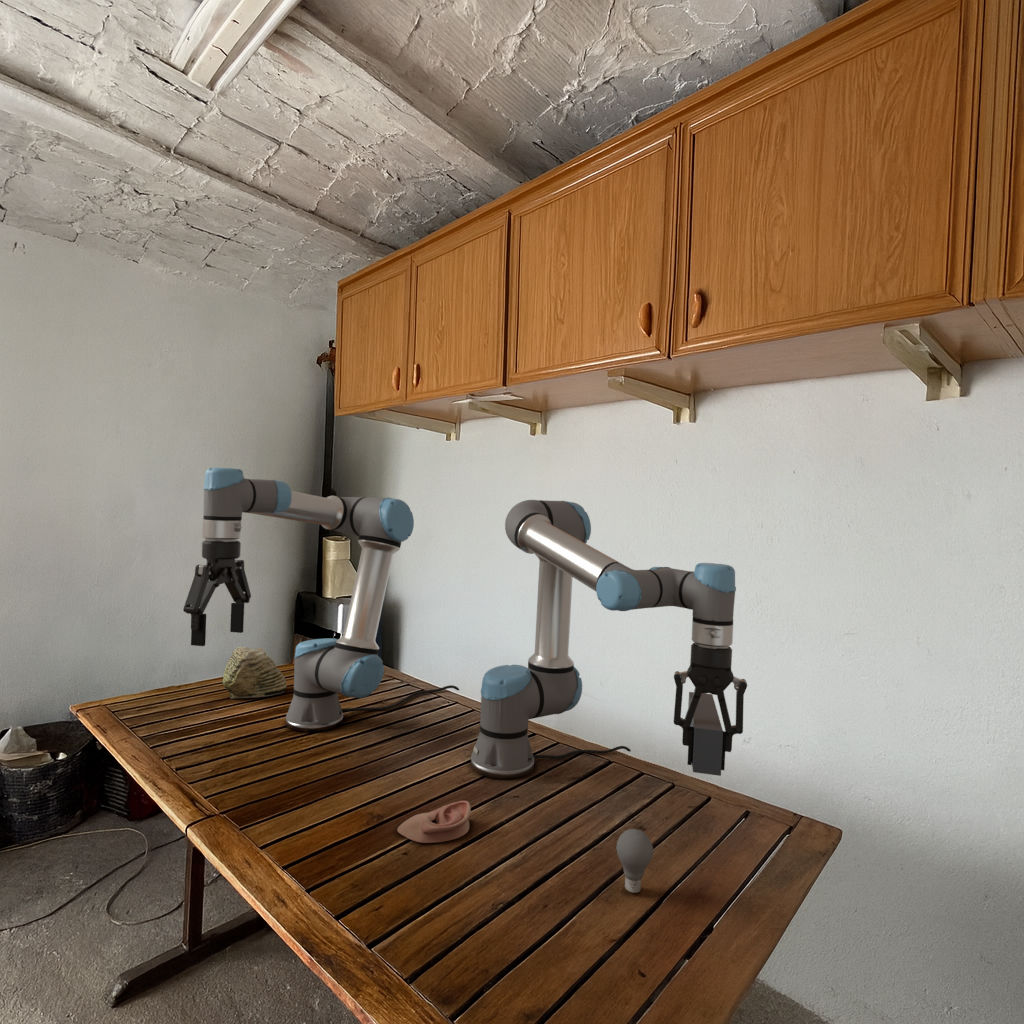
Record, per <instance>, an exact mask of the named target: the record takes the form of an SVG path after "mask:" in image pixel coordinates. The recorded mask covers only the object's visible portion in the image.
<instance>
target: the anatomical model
mask: <svg viewBox="0 0 1024 1024" xmlns="http://www.w3.org/2000/svg"><path fill="white" fill-rule="evenodd" d="M471 813H472V808H471V804H470V802H469V801H468V800H459V801H454V802H451V803H449V804H446V805H442V806H441V807H439V808H436V809H434V810H432V811H429V812H421V813H417V814H415V815H413V816H411V817H409V818H407V819H406V820H405V821H403V822H402V823H401V824H400V825H399V826H398V827H397V829H396V830H397V833H398V834H400V835H401V836H403V837H404V838H406V839H408V840H410V841H414V842H416V843H419V844H434V843H443V842H448V841H452V840H456V839H459V838H461V837H463V836H465V835H466V834H467V833H469V830H470V821H469V819H470V817H471Z"/></svg>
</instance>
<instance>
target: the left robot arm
mask: <svg viewBox="0 0 1024 1024" xmlns="http://www.w3.org/2000/svg"><path fill="white" fill-rule="evenodd" d="M203 483H204V484H203V489H202V490H203V511H202V512H203V514H202V515H203V517H202V518H203V519H202V530H201V531H202V535H201V537H202V538H203V539H204V540H203V541H202V543H201V545H202V546H201V556H202V558H203V559H205V560H206V563H205V564H196V565H195V569H194V576H193V579H192V583H191V585H190V588H189V591H188V594H187V597H186V600H185V602H184V605H183V612H184V613H185V614H189V615H190V631H191V632H190V646H193V647H194V646H196V647H205V646H206V637H207V634H206V633H207V613H204V612H205V610H206V609H207V607H208V604H209V603H210V600H211V598H212V596H213V594H214V593H215V590H216V589H217V588H219V587H220V585H223V584H224V585H225V587H226V589H227V591H228V593H229V594H230V597H231V599H232V600H233V602H231V603H230V625H229V626H230V627H229V628H230V629H229V632H230V633H239V634H243V633H244V624H245V621H244V620H245V604H250V601H251V598H252V593H251V590H250V586H249V582H248V578H247V575H246V569H245V560H243V559H239V558H241V549H242V547H241V546H242V543H241V542H240V539H241V537H242V520H243V519H242V518H243V513H244V514H245V513H246V514H252V515H259V516H265V517H269V518H270V517H271V518H276V519H284V520H289V521H297V522H303V523H308V524H315V525H321V527H322V528H323V529H325V530H329V531H330V530H331V531H334V532H339V533H342V534H346V535H350V536H353V537H356V538H358V539H357V543H358V544H359V545H360V547H361V552H360V557H359V561H358V566H357V569H356V570H357V571H356V574H355V580H354V584H353V589H352V594H351V598H350V603H349V607H348V612H347V617H346V622H345V625H344V629H343V634H342V636H341V637H340V638H335V637H334V638H331V637H329V638H315V639H308V640H304V641H301V642H299V643H298V644H297V645H296V646H295V652H294V656H293V659H294V661H293V662H294V668H293V669H294V670H293V695H292V696H293V697H292V699H291V702H290V704H289V707H288V711H287V713H286V715H285V726H286V728H287V729H289V730H291V731H294V732H295V731H296V732H301V733H316V732H325V731H329V730H332V729H335V728H337V727H339V726H340V725H342V723H343V722H344V713H346V712H367V711H384V710H389V709H393V708H396V707H398V706H399V705H401V704H403V703H404V702H406V701H408V700H410V699H412V698H413V697H416V696H419V695H423V694H424V695H425V694H431V693H437V692H441V691H444V690H447V689H454V690H456V691H460V688H459V687H458V686H456V685H452V684H451V685H446V686H443V687H439V688H434V689H429V690H428V689H426V690H421V691H417V692H414V693H411V694H408V695H407V696H406V697H404V698H402V699H400V700H399V701H397V702H395V703H393V704H390V705H385V706H375V707H374V706H373V707H348V708H342V706H341V702H340V699H339V695H343V696H344V697H346V698H355V699H365V698H367V697H369V696H370V695H372V694H373V692H374V691H376V690H377V688H378V687H379V686H380V684H381V682H382V680H383V677H384V674H385V664H384V662H383V660H382V658H381V657H380V656H379V652H380V646H379V645H378V643H377V642H376V640H377V639H376V638H377V633H378V629H379V625H380V624H379V623H380V621H381V620H380V619H381V616H382V615H381V614H382V610H383V605H384V600H385V595H386V590H387V585H388V582H389V576H390V571H391V567H392V562H393V558H394V555H395V553H397V552H399V551H400V550H401V547H402V542H405V541H406V540H408V539H409V537H411V535H412V533H413V531H414V527H415V520H414V515H413V512H412V510H411V507H410V506H409V504H407V502H406V501H404V500H402V499H399V498H393V497H389V496H388V497H374V496H373V497H370V496H338V495H329V496H326V497H323V496H319V495H313V494H309V493H304V492H299V491H294V490H292V489H291V487H290V485H289V484H288V483H287V482H285V481H283V480H277V479H261V478H260V479H259V478H258V479H257V478H245V476H244V471H243V470H242V469H241V468H231V467H209V468H207V470H206V471H205V475H204V481H203ZM338 694H339V695H338ZM343 712H344V713H343Z"/></svg>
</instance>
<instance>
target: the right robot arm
mask: <svg viewBox="0 0 1024 1024" xmlns="http://www.w3.org/2000/svg"><path fill="white" fill-rule="evenodd" d="M504 530H505V534H506V536H507V538H508V540H509V541H510V543H512V544H513V546H515V548H517V549H518V550H521V551H522V552H524V553H525V554H528V555H529V554H530V555H535V556H536V557H537V558H538V560H539V566H538V581H537V582H538V583H537V599H536V600H537V603H536V604H537V605H536V618H535V619H536V621H535V637H534V638H535V640H534V653H533V654H532V655H530V656H529V658H528V660H527V667H526V666H524V665H522V664H521V665H520V664H510V665H509V664H504V665H503V664H502V665H498V666H495V667H492V668H490V669H488V670H487V671H486V672H485V673H484V675H483V676H482V681H481V688H480V696H481V697H480V715H479V716H480V717H479V720H480V721H479V733H478V736H477V739H476V742H475V745H474V746H473V750H472V753H471V756H470V767H471V769H472V770H473V771H474V772H476V773H477V774H479V775H481V776H484V777H487V778H491V779H498V780H499V779H500V780H501V779H502V780H512V779H518V778H522V777H524V776H527V775H529V774H531V773H532V772H533V770H534V769H535V759H552V760H553V759H554V760H555V759H557V760H558V759H563V758H567V757H570V756H572V755H575V754H585V753H586V754H610V753H613V752H615V751H618V750H625V751H627V752H629V753H630V752H632V750H631V749H630V748H629V747H628V746H625V745H619V746H616V747H613V748H610V749H605V750H600V749H599V750H598V749H597V750H596V749H594V750H593V749H576V750H572V751H569V752H568V753H564V754H559V755H553V754H551V755H549V754H533V750H532V746H531V743H530V739H529V734H528V733H529V720H532V719H538V718H543V717H548V716H553V715H561V714H563V713H566V712H569V711H571V710H572V709H574V708H575V707H576V706H577V705H578V703H579V702H580V700H581V697H582V694H583V680H582V678H581V677H580V672H579V669H577V667H575V662H574V660H573V659H572V658H571V657H570V656H569V655H570V654H569V648H570V634H571V633H570V632H571V631H570V630H571V616H572V615H571V614H572V595H573V579H575V580H577V581H578V582H580V583H581V584H583V585H585V586H586V587H588V588H590V589H591V590H592V591H594V592H596V593H595V594H596V596H597V597H596V598H597V599H598V601H599V602H600V605H601V606H602V607H603V608H604V609H606V610H608V611H612V612H613V611H615V612H616V611H618V612H628V611H633V610H641V609H652V608H653V609H654V608H663V607H664V608H665V607H676V608H682V609H687V610H690V611H691V610H692V621H691V623H692V624H691V641H692V642H693V643H692V644H691V645H690V661H689V662H690V663H689V667H688V668H687V670H685V671H678V670H676V671H675V672H674V673H673V680H674V683H675V697H674V698H675V699H674V710H673V711H674V712H673V724H674V725H675V726H679V727H680V728H681V729H682V740H681V741H682V746H686V747H687V763H686V764H687V766H692V746H693V727H690V725H691V722H692V719H693V716H694V713H695V710H696V708H697V705H698V702H699V699H700V697H701V694H702V693H705V694H712V695H713V696H716V698H717V701H718V705H719V709H720V713H721V718H722V722H723V726H724V727H723V728H724V730H723V743H722V764H721V771H725V766H726V765H725V764H726V753H731V752H732V750H733V738H734V737H733V736H734V735H742V734H743V733H744V696H745V693H746V690H747V688H748V681H747V680H746V679H745V678H739V677H736V676H734V673H733V671H732V661H733V660H732V659H733V649H732V647H731V646H732V645H733V643H734V642H733V641H734V639H733V638H734V613H735V611H734V609H735V600H736V599H735V598H736V591H737V587H736V570H735V568H734V567H733V566H732V565H730V564H725V563H713V562H699V563H697V564H695V566H694V571H691V570H685V569H678V568H672V567H670V566H653V567H651V568H649V569H632V568H630V567H629V566H626V565H625V564H623V563H621V562H620V561H617V559H614V558H613V557H611V556H609V555H607V554H605V553H603V552H601V551H599V550H598V549H596V548H594V547H593V546H591V545H589V544H587V543H588V541H589V540H590V538H591V535H592V523H591V519H590V517H589V514H588V513H587V511H585V509H584V507H583V506H582V505H581V504H580V503H577V502H574V501H567V500H543V499H538V500H537V499H526V500H522V501H520V502H518V503H516V504H515V505H514V506H512V507H511V509H510V510H509V511H508V513H507V514H506V517H505V521H504ZM687 678H688V679H689V680H690V682H691V683H692V684H693V686H694V689H693V692H694V693H693V696H692V699H691V702H690V705H689V708H687V711H686V713H685V716H684V718H683V717H682V704H683V690H684V684H686V682H687ZM731 683H733V689H734V690H735V694H736V695H735V724H733V725H732V722H731V718H730V717H731V716H730V714H729V708H728V705H727V704H728V703H727V700H726V697H725V696H726V695H725V692H724V691H726V690H727V688H728V687H729V686H730V685H731Z"/></svg>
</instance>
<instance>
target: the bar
mask: <svg viewBox="0 0 1024 1024" xmlns="http://www.w3.org/2000/svg"><path fill="white" fill-rule="evenodd" d="M693 693H694V691H689V692H688V703H687V705H688V706H687V707H688V708H689V705H690V702H691V699H692V696H693ZM688 708H687V709H688ZM690 727H693V746H692V765H691V768H692V773H694V774H695V773H696V774H704V775H712V776H718V777H721V776H722V770H721V764H722V743H723V731H724V730H723V729H724V728H723V726H722V723H721V720H720V716H719V713H718V709H717V706H716V703H715V699H714V695H713V694H711V693H702V694H701V697H700V699H699V702H698V705H697V708H696V710H695V713H694V716H693V719H692V722H691V725H690Z"/></svg>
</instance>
